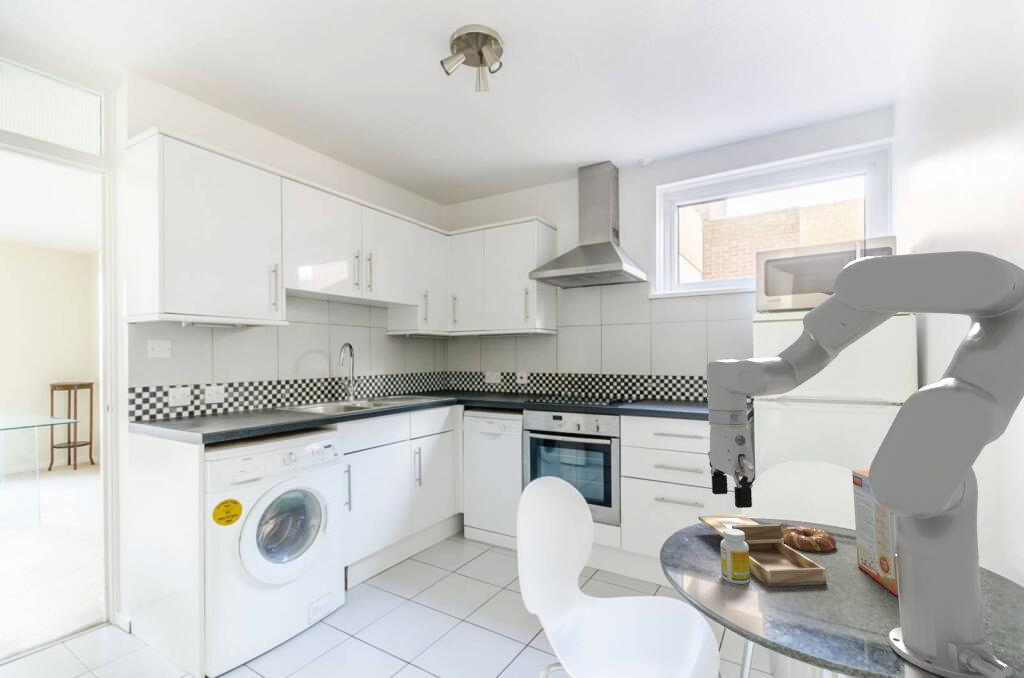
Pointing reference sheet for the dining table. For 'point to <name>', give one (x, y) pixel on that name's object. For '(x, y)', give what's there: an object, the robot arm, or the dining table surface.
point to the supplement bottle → (735, 557)
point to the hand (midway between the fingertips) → (731, 500)
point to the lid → (744, 528)
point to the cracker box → (874, 534)
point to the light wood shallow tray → (783, 566)
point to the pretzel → (808, 538)
